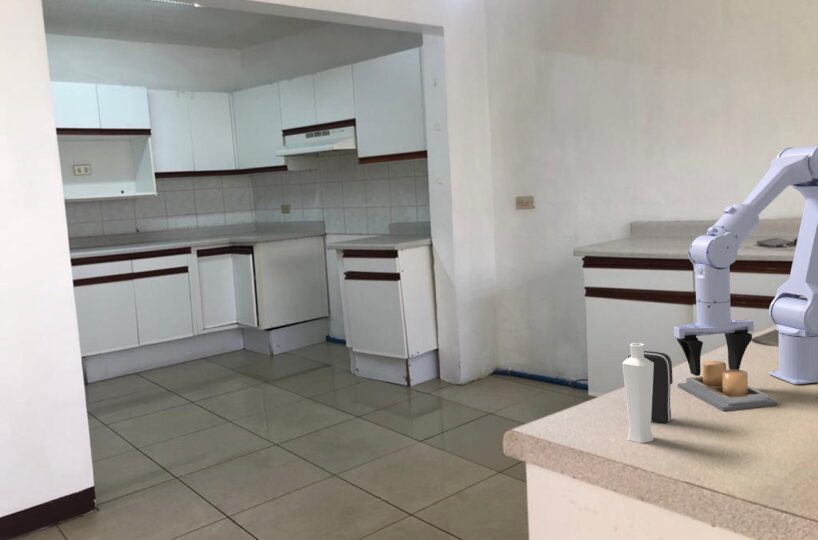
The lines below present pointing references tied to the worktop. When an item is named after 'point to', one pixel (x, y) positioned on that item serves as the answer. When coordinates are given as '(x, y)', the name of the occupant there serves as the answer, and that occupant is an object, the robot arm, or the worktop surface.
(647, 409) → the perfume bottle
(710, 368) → the peach rounded capsule
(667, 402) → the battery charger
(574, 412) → the worktop surface
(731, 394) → the frame
